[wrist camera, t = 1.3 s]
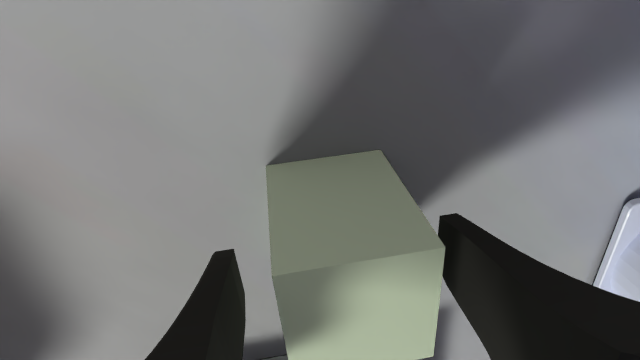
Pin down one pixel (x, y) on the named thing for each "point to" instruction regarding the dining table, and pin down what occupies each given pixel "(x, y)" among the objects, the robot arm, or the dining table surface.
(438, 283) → the green block
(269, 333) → the dining table surface
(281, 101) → the dining table surface
